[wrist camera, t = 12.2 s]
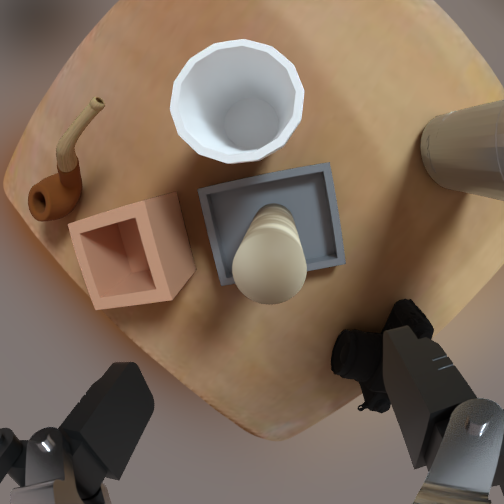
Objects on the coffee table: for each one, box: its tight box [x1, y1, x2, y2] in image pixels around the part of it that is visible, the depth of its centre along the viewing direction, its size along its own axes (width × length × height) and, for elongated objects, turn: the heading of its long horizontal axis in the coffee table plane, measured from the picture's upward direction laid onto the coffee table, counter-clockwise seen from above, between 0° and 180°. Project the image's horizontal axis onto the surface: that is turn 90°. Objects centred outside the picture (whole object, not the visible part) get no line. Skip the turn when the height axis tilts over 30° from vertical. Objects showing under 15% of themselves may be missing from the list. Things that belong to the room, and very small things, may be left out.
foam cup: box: [170, 39, 304, 164], centre depth 25 cm, size 10×9×13 cm
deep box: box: [68, 192, 196, 310], centre depth 31 cm, size 10×10×9 cm
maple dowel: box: [232, 203, 307, 304], centre depth 26 cm, size 4×4×16 cm
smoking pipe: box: [28, 97, 105, 221], centre depth 29 cm, size 7×18×6 cm
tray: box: [197, 162, 346, 286], centre depth 33 cm, size 14×11×2 cm
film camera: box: [331, 299, 434, 413], centre depth 33 cm, size 15×10×9 cm, turn 164°
